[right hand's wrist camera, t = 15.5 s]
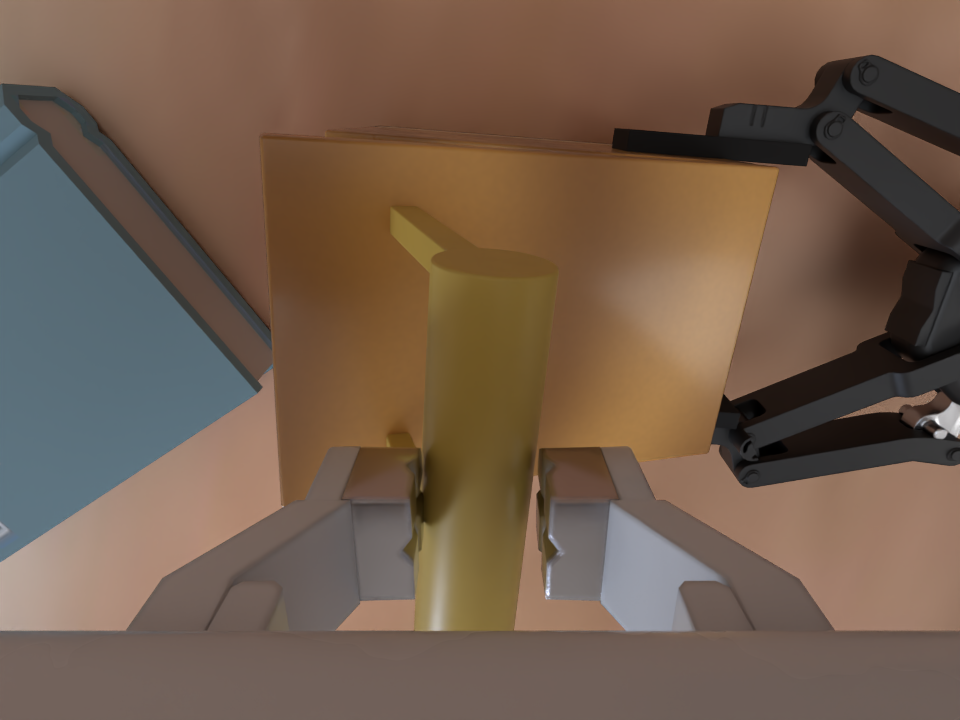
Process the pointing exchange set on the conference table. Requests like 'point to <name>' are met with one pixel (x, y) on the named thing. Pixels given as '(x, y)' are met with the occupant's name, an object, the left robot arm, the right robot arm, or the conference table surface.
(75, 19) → the conference table surface
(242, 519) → the conference table surface
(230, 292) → the book
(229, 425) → the conference table surface
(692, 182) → the lid
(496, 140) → the chest
